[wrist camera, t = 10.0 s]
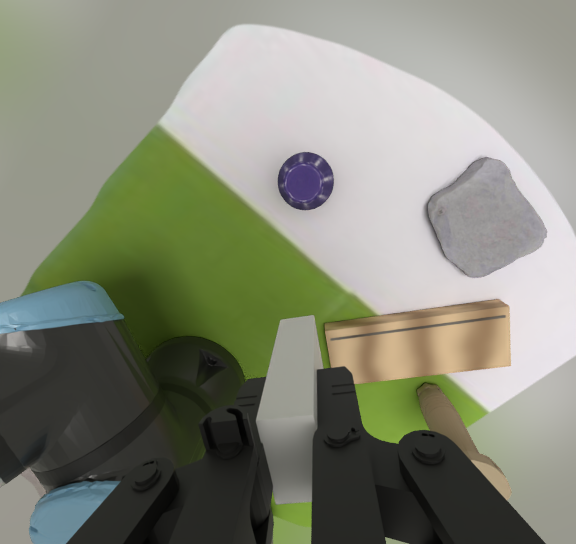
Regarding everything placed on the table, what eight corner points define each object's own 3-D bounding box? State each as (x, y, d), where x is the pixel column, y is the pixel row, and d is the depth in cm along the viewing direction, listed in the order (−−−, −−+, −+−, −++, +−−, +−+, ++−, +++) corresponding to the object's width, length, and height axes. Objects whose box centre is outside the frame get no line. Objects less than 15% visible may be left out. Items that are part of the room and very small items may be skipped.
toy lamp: (316, 207, 41) (317, 225, 25) (282, 190, 41) (261, 196, 25) (335, 171, 40) (349, 165, 24) (300, 152, 40) (291, 133, 24)
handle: (431, 416, 48) (482, 518, 33) (398, 389, 47) (435, 481, 32) (457, 394, 46) (522, 490, 32) (424, 366, 46) (474, 451, 31)
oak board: (333, 376, 47) (334, 387, 45) (324, 323, 45) (325, 331, 43) (500, 356, 45) (511, 366, 42) (498, 299, 43) (509, 306, 40)
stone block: (462, 276, 44) (542, 232, 40) (470, 291, 40) (562, 243, 36) (409, 204, 43) (487, 150, 39) (412, 211, 38) (500, 151, 34)
